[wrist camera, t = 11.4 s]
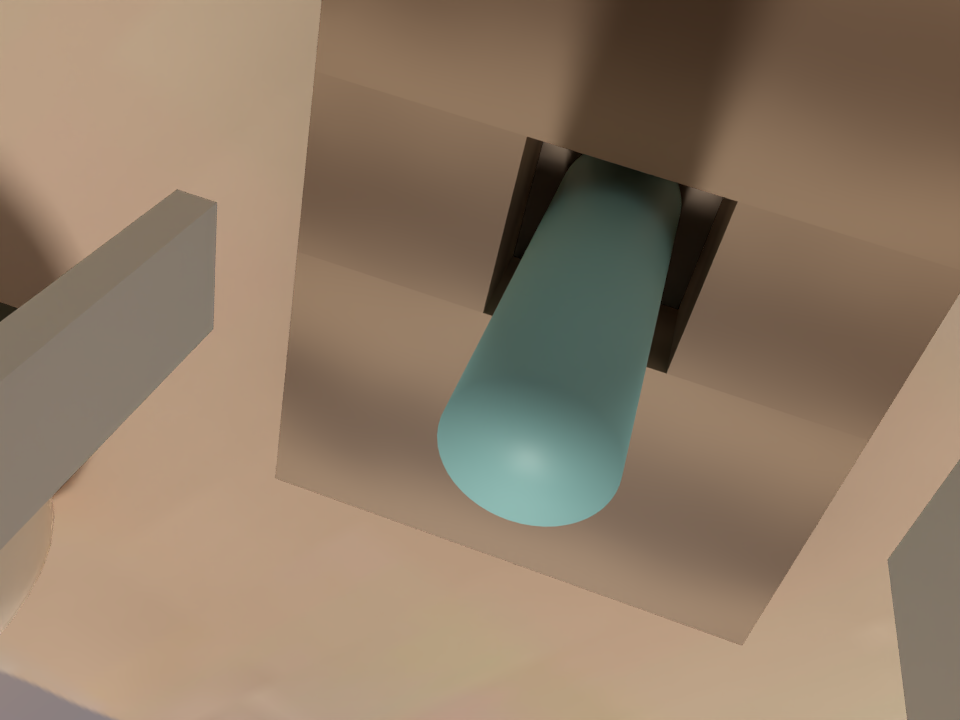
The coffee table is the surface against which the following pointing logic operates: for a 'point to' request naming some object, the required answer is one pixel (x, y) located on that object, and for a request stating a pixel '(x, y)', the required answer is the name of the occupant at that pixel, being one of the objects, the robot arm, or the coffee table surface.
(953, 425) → the coffee table surface
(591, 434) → the peg
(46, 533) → the lidded jar
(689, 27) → the hole block
